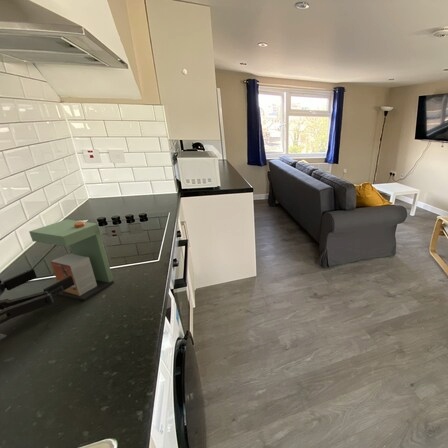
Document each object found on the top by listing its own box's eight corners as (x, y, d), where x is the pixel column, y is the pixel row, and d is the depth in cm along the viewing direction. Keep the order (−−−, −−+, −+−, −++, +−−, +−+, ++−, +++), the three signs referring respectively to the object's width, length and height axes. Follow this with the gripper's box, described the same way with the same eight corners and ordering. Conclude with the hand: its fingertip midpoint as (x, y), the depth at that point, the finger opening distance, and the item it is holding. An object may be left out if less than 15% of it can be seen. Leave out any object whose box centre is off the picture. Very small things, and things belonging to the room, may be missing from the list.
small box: (60, 291, 80) (49, 261, 76) (79, 281, 85) (69, 252, 81) (79, 296, 78) (69, 265, 74) (98, 286, 83) (89, 256, 79)
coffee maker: (53, 294, 80) (27, 228, 72) (85, 277, 89) (65, 216, 81) (84, 301, 77) (62, 233, 69) (114, 282, 86) (97, 221, 78)
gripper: (-89, 333, 58) (24, 281, 77) (-7, 356, 53) (92, 294, 72) (-107, 306, 55) (14, 259, 75) (-22, 327, 50) (85, 271, 70)
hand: (53, 276), depth 74 cm, fingers open, 13 cm apart
